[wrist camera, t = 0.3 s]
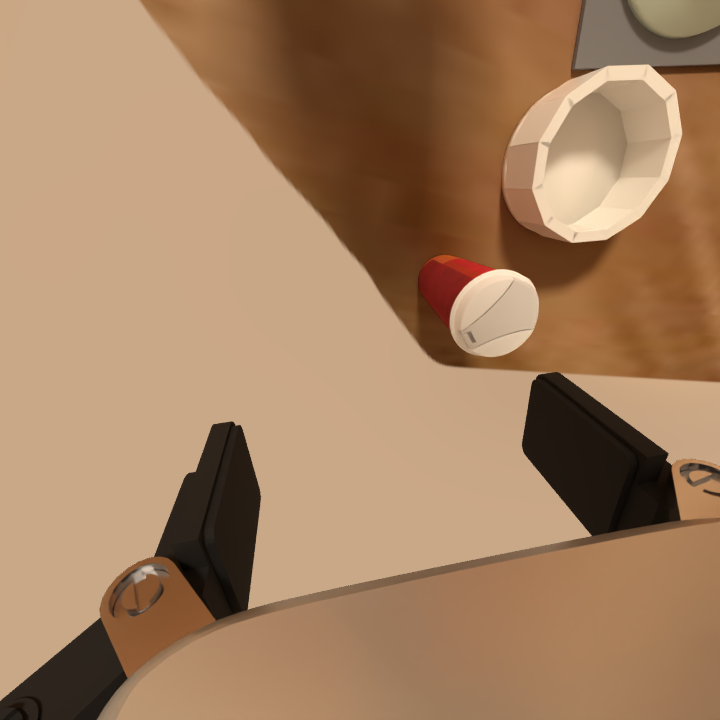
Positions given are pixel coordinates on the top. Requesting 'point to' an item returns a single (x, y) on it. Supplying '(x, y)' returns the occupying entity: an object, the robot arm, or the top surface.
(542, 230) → the bowl
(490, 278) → the paper cup
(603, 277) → the top surface
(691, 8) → the lid
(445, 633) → the robot arm
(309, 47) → the top surface
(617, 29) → the mat
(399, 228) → the top surface
